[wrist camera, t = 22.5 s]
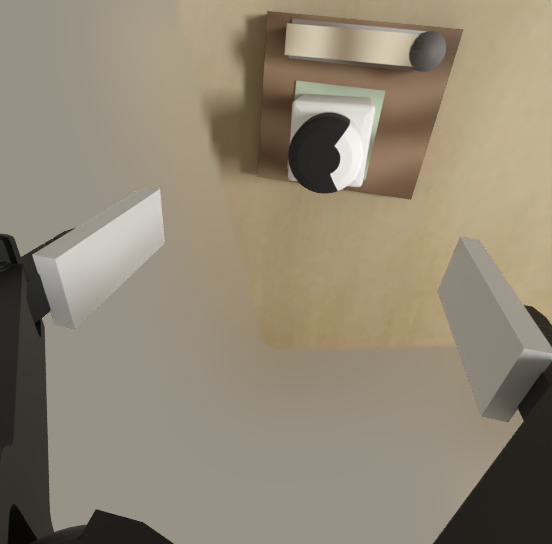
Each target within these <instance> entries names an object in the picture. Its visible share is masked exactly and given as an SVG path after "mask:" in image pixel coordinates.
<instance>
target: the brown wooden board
mask: <svg viewBox="0 0 552 544" xmlns="http://www.w3.org/2000/svg"><path fill="white" fill-rule="evenodd" d="M287 23H289V24H301V25H313V26H325V27H338V28H350V29H362V30H374V31H386V32H398V33H411V34H421V33H424V32H427V31H436V32H438V33H440V34H441V35H442V36H443V37H444V39H445V42H446V52H445V56H444V58H443V60H442V61H441V63H440V64H439V65H438V66H437V67H435V68H434V69H432V70H430V71H426V72H421V71H416V70H414V69H412V68H410V66H399V65H388V64H377V63H367V62H356V61H345V60H335V59H324V58H313V57H302V56H292V55H285V42H286V29H287ZM462 32H463V29H452V28H441V27H431V26H420V25H409V24H399V23H388V22H377V21H367V20H356V19H345V18H335V17H324V16H313V15H303V14H292V13H281V12H271V11H267V27H266V43H265V59H264V76H263V92H262V108H261V124H260V140H259V156H258V173H257V176H258V177H264V178H271V179H278V180H284V181H291V180H289V178H288V170H289V161H288V151H289V146H290V136H291V119H292V104H293V102H294V101H295V100H296V99H297V98H299V97H300V96H302V95H303V94H321V95H336V96H352V97H368V98H371V99H372V101H373V103H374V106H375V114H374V120H373V126H372V131H371V137H370V143H369V149H368V154H367V160H366V166H365V172H364V177H363V183H362V186H360V187H351V186H346V187H345V188H343V189H345V190H351V191H358V192H365V193H371V194H378V195H385V196H391V197H398V198H405V199H411V198H412V195H413V191H414V188H415V185H416V182H417V178H418V175H419V172H420V169H421V165H422V162H423V159H424V156H425V152H426V149H427V146H428V143H429V139H430V136H431V133H432V130H433V126H434V123H435V120H436V117H437V113H438V110H439V107H440V104H441V100H442V97H443V94H444V91H445V87H446V84H447V81H448V78H449V75H450V71H451V68H452V65H453V62H454V58H455V55H456V52H457V49H458V45H459V42H460V39H461V36H462ZM291 182H298V181H291ZM298 183H299V182H298Z"/></svg>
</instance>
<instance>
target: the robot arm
mask: <svg viewBox="0 0 552 544" xmlns="http://www.w3.org/2000/svg"><path fill="white" fill-rule="evenodd" d="M164 243H165V241H164V230H163V219H162V207H161V196H160V189H157V188H150V187H142V188H141V189H139V190H138V191H136V192H134V193H133V194H131V195H129V196H128V197H126V198H125V199H123V200H121V201H119V202H118V203H116V204H115V205H113V206H111V207H110V208H108V209H106V210H105V211H103V212H102V213H100V214H98V215H97V216H95V217H93V218H92V219H90V220H88V221H87V222H85V223H83V224H82V225H80V226H79V227H77V228H74V229H71V230H68V231H64V232H63V233H61V234H59V235H57V236H56V237H54V238H53V239H51V240H49V241H48V242H46V243H45V245H44V244H42V245H41V246H39V247H38V248H36V249H34V250H32V251H31V252H29V253H27V254H26V255H24V256H22V257H20V254H19V251H18V248H17V245H16V242H15V239H14V237H12V236H10V235H6V234H0V544H173V543H172V542H171V541H169V540H168V539H166V538H165V537H163V536H162V535H160V534H159V533H157V532H156V531H155V530H153V529H152V528H150V527H149V526H148V525H146V524H145V523H143V522H140V521H136V520H133V519H129V518H126V517H122V516H118V515H115V514H111V513H107V512H104V511H100V510H95V512H94V514H93V515H92V517H91V519H90V520H89V522H88V524H87V525H81V526H75V527H70V528H66V529H63V530H60V531H57V532H54V530H53V527H52V522H51V517H50V503H49V469H48V435H47V434H48V433H47V398H46V363H45V332H44V331H45V328H44V324H43V321H42V317H44V316H45V315H46V314H47V313H49V311H50V312H51V315H52V318H53V321H54V324H55V325H57V326H62V327H66V328H71V329H76V328H77V327H78V326H79V325H80V324H81V323H82V322H83V321H84V320H85V319H86V318H87V317H89V316H90V314H92V313H93V312H94V311H95V310H96V309H97V308H98V307H99V306H100V305H101V304H102V303H103V302H104V301H105V300H106V299H107V298H108V297H109V296H110V295H111V294H112V293H113V292H114V291H115V290H116V289H117V288H118V287H119V286H120V285H122V284H123V283H124V282H125V281H126V280H127V279H128V278H129V277H130V276H131V275H132V274H133V273H134V272H135V271H136V270H137V269H138V268H139V267H140V266H141V265H142V264H143V263H144V262H145V261H146V260H147V259H148V258H149V257H150V256H151V255H153V254H154V253H155V252H156V251H157V250H158V249H159V248H160V247H161V246H162V245H163V244H164ZM438 294H439V297H440V300H441V302H442V305H443V308H444V311H445V314H446V317H447V320H448V323H449V326H450V328H451V331H452V334H453V337H454V340H455V343H456V346H457V349H458V351H459V354H460V357H461V360H462V363H463V366H464V369H465V372H466V374H467V377H468V380H469V383H470V386H471V389H472V392H473V395H474V397H475V401H476V403H477V406H478V409H479V412H480V415H481V416H482V417H487V418H491V419H496V420H501V421H505V422H509V421H510V419H511V418H512V416H513V415H514V414H515V412H516V411H517V409H519V412H520V414H521V416H522V418H523V420H524V422H523V423H522V424H521V426H520V427H519V428H518V430H517V431H516V432H515V434H514V435H513V436H512V438H511V439H510V440H509V442H508V443H507V444H506V446H505V448H503V450H502V451H501V453H500V454H499V455H498V457H497V458H496V459H495V461H494V462H493V463H492V465H491V466H490V468H489V469H488V470H487V471H486V473H485V474H484V475H483V477H482V478H481V480H480V481H479V482H478V484H477V485H476V486H475V488H474V489H473V490H472V492H471V493H470V494H469V496H468V497H467V498H466V500H465V501H464V502H463V504H462V505H461V506H460V508H459V509H458V511H457V512H456V513H455V515H454V516H453V517H452V519H451V520H450V521H449V523H448V524H447V526H446V527H445V528H444V529H443V531H442V532H441V534H440V535H439V536H438V538H437V539H436V540H435V542H434V543H433V544H552V325H551V324H550V322H549V321H548V319H547V318H546V317H545V316H544V315H542V314H541V313H540V312H539V311H537V310H536V309H535V308H534V307H531V306H526V305H523V304H522V302H521V301H520V299H519V298H518V296H517V295H516V293H515V292H514V290H513V289H512V287H511V286H510V285H509V283H508V282H507V280H506V279H505V277H504V276H503V274H502V273H501V271H500V270H499V268H498V267H497V265H496V264H495V262H494V261H493V259H492V258H491V256H490V255H489V253H488V252H487V250H486V249H485V247H484V246H483V244H482V243H481V241H480V240H477V239H471V238H465V237H460V238H459V240H458V243H457V245H456V248H455V250H454V252H453V255H452V257H451V260H450V262H449V265H448V267H447V270H446V272H445V274H444V277H443V279H442V282H441V284H440V287H439V289H438Z"/></svg>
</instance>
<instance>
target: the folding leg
mask: <svg viewBox="0 0 552 544" xmlns="http://www.w3.org/2000/svg"><path fill="white" fill-rule="evenodd" d="M445 52H446V42H445V39H444V37H443V36H442V35H441V34H440V33H438V32H436V31H427V32H424V33H421V34H411V33H398V32H386V31H374V30H362V29H350V28H338V27H325V26H313V25H301V24H289V23H287V29H286V42H285V55H292V56H302V57H313V58H324V59H335V60H345V61H356V62H367V63H377V64H388V65H399V66H410V68H412V69H414V70H416V71H421V72H426V71H430V70H432V69H434V68H435V67H437V66H438V65H439V64H440V63H441V61H442V60H443V58H444V56H445Z"/></svg>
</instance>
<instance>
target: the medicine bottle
mask: <svg viewBox="0 0 552 544" xmlns="http://www.w3.org/2000/svg"><path fill="white" fill-rule="evenodd" d="M374 114H375V106H374V103H373V101H372V99H371V98H368V97H352V96H336V95H321V94H303V95H302V96H300V97H299V98H297V99H296V100H295V101H294V102H293V104H292V119H291V136H290V146H289V151H288V161H289V170H288V178H289V180H291V181H298V182H299V183H300V184H301V185H302V186H304V187H305V188H307V189H308V190H311V191H313V192H317V193H333V192H336V191H339V190H341V189H343V188H345V187H346V186H351V187H360V186H362V183H363V177H364V172H365V166H366V160H367V154H368V149H369V143H370V137H371V131H372V126H373V120H374Z"/></svg>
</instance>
